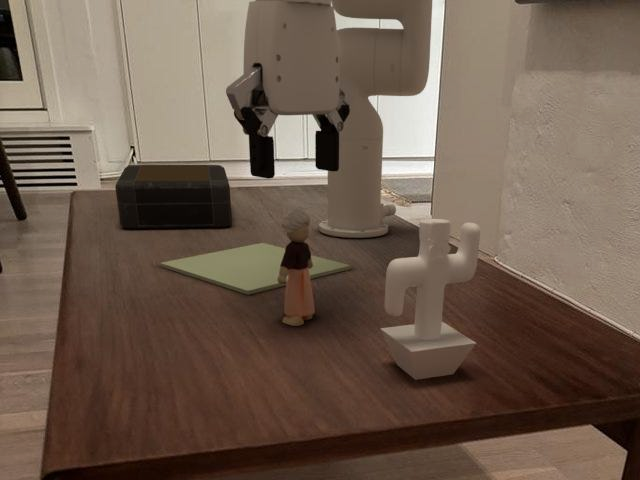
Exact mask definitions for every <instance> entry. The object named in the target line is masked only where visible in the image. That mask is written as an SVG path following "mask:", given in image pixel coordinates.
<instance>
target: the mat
mask: <svg viewBox="0 0 640 480" xmlns="http://www.w3.org/2000/svg"><path fill="white" fill-rule="evenodd" d="M285 249H286V247H281V246H276V245H274V244H269V243H265V242H259V243H255V244H249V245H244V246H238V247H234V248H229V249H224V250H220V251H214V252H209V253H203V254H198V255H193V256H188V257H182V258H178V259H173V260H168V261H163V262H160V267H161V268H164V269H166V270H169V271H173V272H176V273H178V274H179V273H180V274H181V275H185V276H188V277H192V278H195V279H197V280H200V281H204V282H207V283H210V284H212V285H216V286H220V287H222V288H225V289H229V290H231V291H233V292H234V291H235V292H237V293H241V294H243V295H247V296H249V295H254V294H257V293H262V292H266V291H269V290H274V289H277V288H278V289H279V288H281V287H286V285H287V281H288V275H287V277H286V279H287V280H286V283H284V284H280V283H279V282H278V280H277V279H278V276H279V271H280V265H281V262H282V259H283V256H284V254H285ZM311 259H312V260H311V261H312V263H313V267H312V268H310V269H308V270H309V275H310V280H313V279H317V278H321V277H324V276H325V277H326V276H329V275H332V274H336V273H341V272H345V271H349V270H351V265H350V264H347V263H343V262H339V261H335V260H332V259H327V258H324V257H320V256H316V255H312V254H311Z"/></svg>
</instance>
